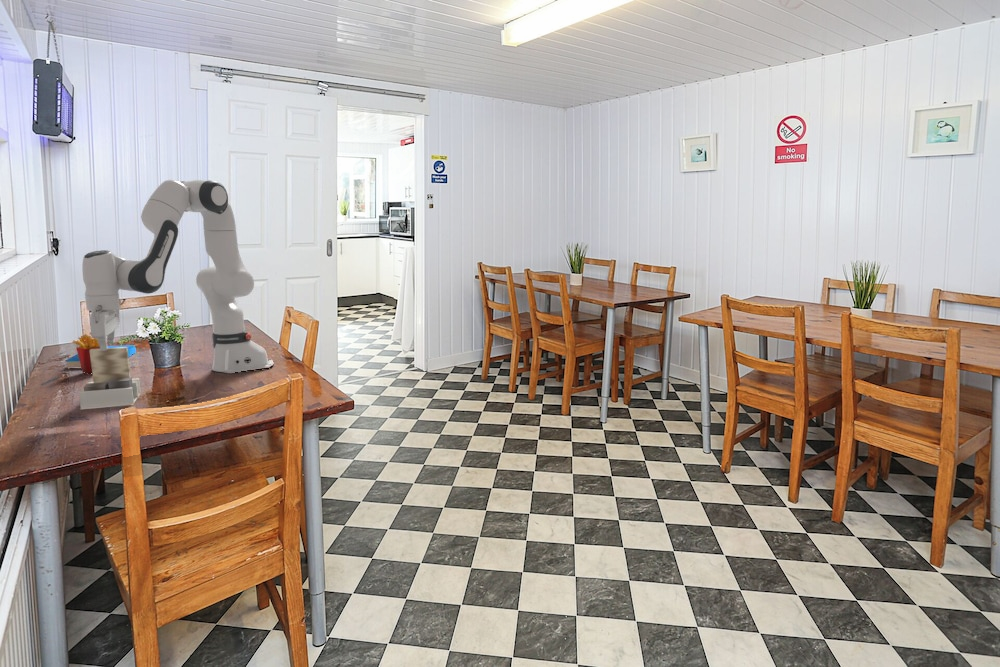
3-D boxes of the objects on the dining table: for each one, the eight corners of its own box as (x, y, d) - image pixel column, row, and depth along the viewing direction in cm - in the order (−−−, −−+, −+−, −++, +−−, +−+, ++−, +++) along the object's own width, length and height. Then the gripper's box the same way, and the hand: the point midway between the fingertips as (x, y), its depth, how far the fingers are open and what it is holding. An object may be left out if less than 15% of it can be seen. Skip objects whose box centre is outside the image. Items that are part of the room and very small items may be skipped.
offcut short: (110, 400, 196) (107, 382, 195) (107, 404, 192) (104, 385, 191) (89, 402, 194) (87, 383, 193) (86, 406, 191) (83, 387, 189)
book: (64, 360, 239) (90, 345, 263) (66, 371, 240) (91, 355, 263) (114, 358, 243) (135, 343, 266) (116, 368, 244) (136, 353, 267)
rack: (141, 396, 205) (139, 377, 204) (133, 409, 192) (131, 389, 191) (92, 400, 201) (89, 381, 199) (80, 414, 188) (77, 393, 186)
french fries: (107, 371, 236) (102, 333, 233) (83, 376, 229) (77, 336, 226) (95, 368, 241) (90, 330, 238) (71, 373, 234) (66, 334, 231)
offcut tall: (134, 398, 198) (131, 377, 197) (131, 402, 195) (129, 380, 193) (113, 400, 196) (111, 378, 195) (110, 403, 193) (108, 382, 191)
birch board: (132, 394, 202) (127, 346, 199) (131, 396, 200) (126, 347, 197) (97, 398, 199) (90, 349, 196) (95, 399, 197) (89, 350, 194)
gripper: (106, 307, 185) (111, 353, 188) (121, 299, 204) (125, 340, 206) (82, 308, 183) (87, 354, 185) (99, 299, 202) (103, 341, 204)
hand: (107, 347), depth 196 cm, fingers open, 8 cm apart
